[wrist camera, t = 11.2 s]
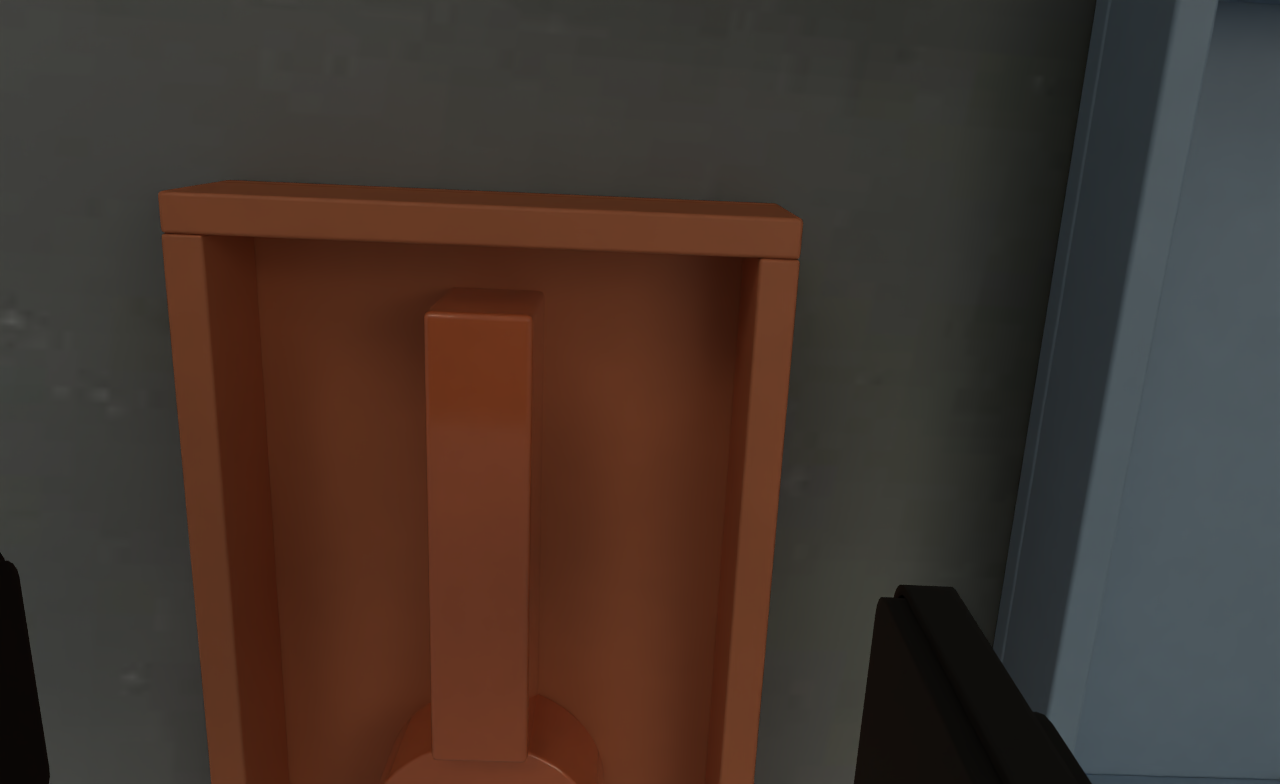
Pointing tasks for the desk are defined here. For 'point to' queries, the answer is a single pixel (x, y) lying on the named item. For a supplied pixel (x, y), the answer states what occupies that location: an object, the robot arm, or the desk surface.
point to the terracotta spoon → (486, 556)
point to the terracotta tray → (396, 462)
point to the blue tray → (1160, 411)
